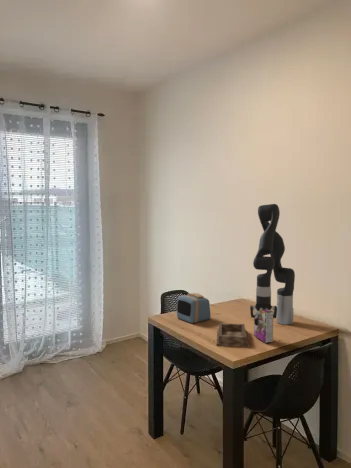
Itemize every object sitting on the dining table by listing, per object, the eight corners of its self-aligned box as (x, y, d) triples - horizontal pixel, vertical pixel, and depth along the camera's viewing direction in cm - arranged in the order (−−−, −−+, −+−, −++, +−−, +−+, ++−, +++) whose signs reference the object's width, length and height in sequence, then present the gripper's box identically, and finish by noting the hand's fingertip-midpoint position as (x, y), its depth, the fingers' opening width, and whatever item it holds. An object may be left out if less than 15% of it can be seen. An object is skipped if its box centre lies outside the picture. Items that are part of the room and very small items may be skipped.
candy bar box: (253, 336, 210) (253, 306, 209) (261, 335, 212) (262, 305, 210) (264, 343, 200) (265, 311, 198) (273, 342, 201) (274, 311, 200)
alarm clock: (175, 318, 246) (175, 293, 244) (195, 313, 256) (195, 289, 254) (191, 324, 233) (191, 298, 231) (212, 319, 243) (212, 294, 241)
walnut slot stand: (245, 331, 221) (245, 323, 220) (248, 346, 197) (248, 338, 197) (217, 330, 223) (217, 322, 222) (216, 345, 199) (216, 337, 198)
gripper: (276, 292, 207) (276, 323, 208) (249, 292, 208) (248, 322, 210) (278, 296, 199) (278, 328, 201) (250, 295, 201) (249, 327, 202)
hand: (263, 325), depth 205 cm, fingers closed on candy bar box, 6 cm apart
